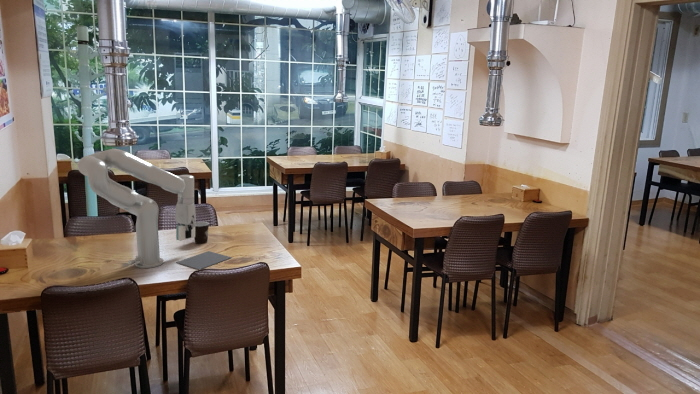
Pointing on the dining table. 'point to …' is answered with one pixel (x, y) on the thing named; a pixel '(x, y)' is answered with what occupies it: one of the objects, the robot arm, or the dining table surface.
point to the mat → (203, 260)
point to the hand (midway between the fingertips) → (185, 236)
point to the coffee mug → (201, 232)
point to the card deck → (183, 232)
